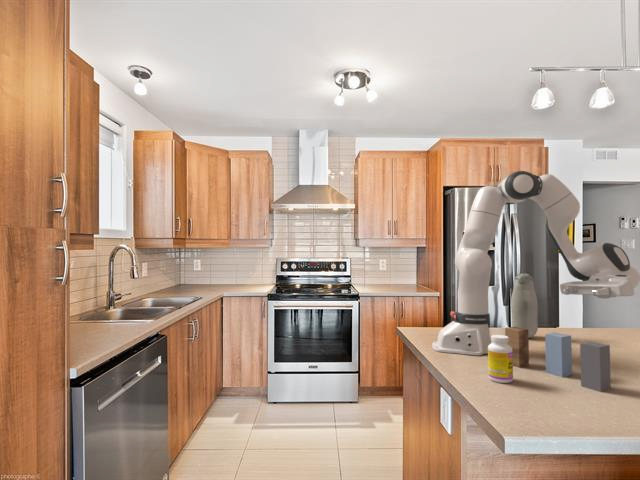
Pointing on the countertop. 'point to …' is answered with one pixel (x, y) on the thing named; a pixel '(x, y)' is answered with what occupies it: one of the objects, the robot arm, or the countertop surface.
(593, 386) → the charcoal block
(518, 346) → the walnut block
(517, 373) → the countertop surface
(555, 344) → the slate-blue block
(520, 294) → the grey-green tall rounded cylinder
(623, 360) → the countertop surface
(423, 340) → the countertop surface
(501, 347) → the supplement bottle
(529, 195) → the robot arm
